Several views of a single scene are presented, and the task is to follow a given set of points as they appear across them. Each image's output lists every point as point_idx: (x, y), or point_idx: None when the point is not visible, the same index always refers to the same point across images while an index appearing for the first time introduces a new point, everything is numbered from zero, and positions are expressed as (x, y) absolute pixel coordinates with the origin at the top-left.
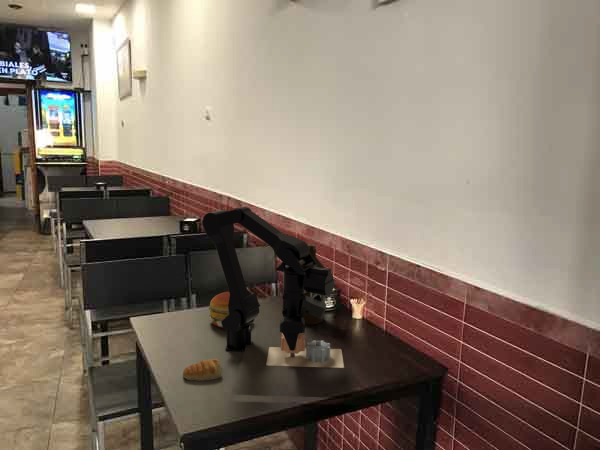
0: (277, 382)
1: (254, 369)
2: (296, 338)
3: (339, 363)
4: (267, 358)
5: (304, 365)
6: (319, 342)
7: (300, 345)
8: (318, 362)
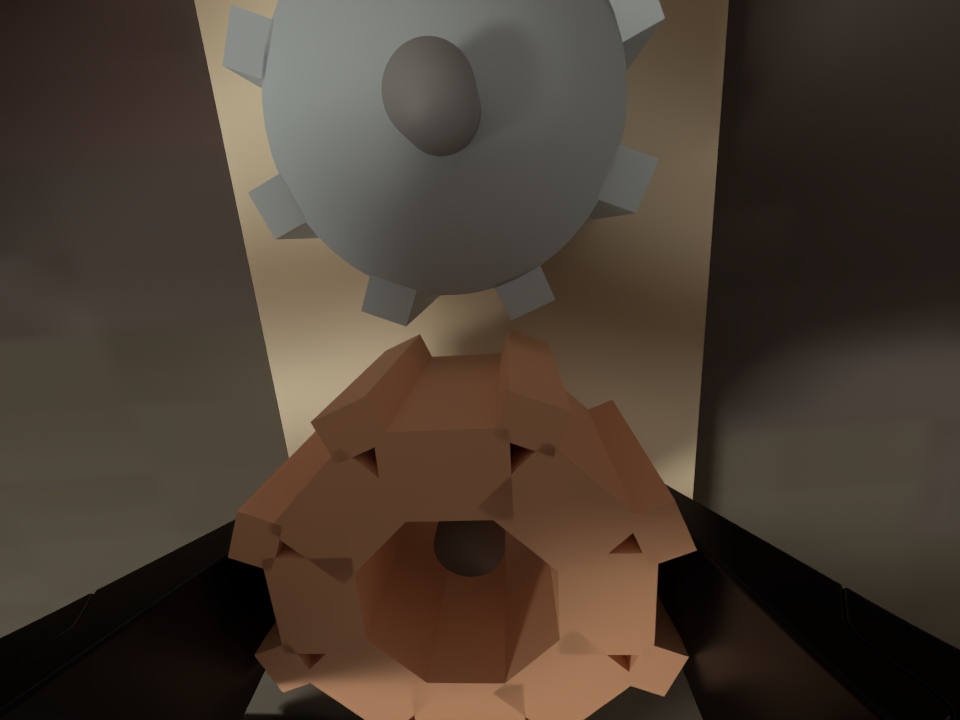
0: (899, 501)
1: None
2: (908, 641)
3: None
4: None
5: (683, 298)
6: (466, 64)
7: (570, 418)
8: None
